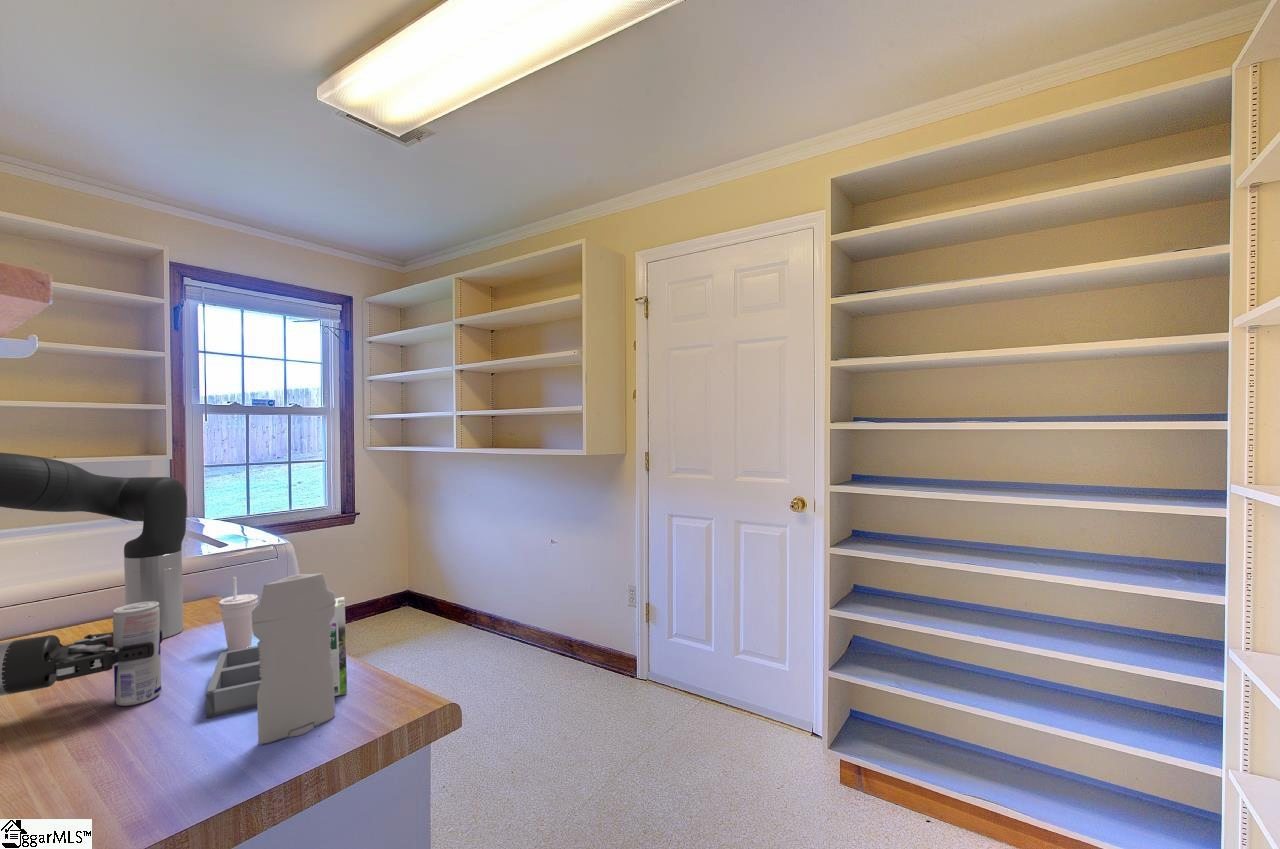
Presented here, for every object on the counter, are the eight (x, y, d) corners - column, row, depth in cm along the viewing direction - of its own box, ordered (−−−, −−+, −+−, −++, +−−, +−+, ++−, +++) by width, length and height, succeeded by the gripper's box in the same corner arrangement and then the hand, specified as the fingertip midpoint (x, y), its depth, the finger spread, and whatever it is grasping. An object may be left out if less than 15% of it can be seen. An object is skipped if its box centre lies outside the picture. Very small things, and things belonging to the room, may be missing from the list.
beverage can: (170, 691, 94) (168, 600, 94) (137, 708, 88) (135, 611, 88) (139, 690, 94) (137, 600, 94) (104, 707, 89) (102, 611, 89)
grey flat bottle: (332, 710, 86) (328, 565, 86) (343, 718, 84) (339, 569, 84) (250, 740, 78) (246, 580, 78) (259, 751, 76) (256, 586, 76)
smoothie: (216, 648, 112) (214, 577, 112) (254, 639, 117) (252, 570, 116) (223, 657, 107) (222, 583, 107) (263, 647, 112) (261, 576, 112)
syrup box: (305, 703, 89) (303, 610, 89) (308, 688, 94) (305, 600, 94) (347, 694, 91) (345, 604, 91) (346, 680, 96) (344, 594, 96)
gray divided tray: (221, 672, 101) (220, 652, 101) (284, 660, 105) (284, 640, 105) (206, 718, 85) (205, 694, 85) (281, 701, 90) (281, 678, 90)
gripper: (-14, 658, 78) (147, 633, 86) (29, 627, 90) (166, 607, 99) (-13, 713, 78) (148, 682, 86) (30, 674, 90) (167, 650, 99)
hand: (157, 642), depth 93 cm, fingers closed on beverage can, 5 cm apart
